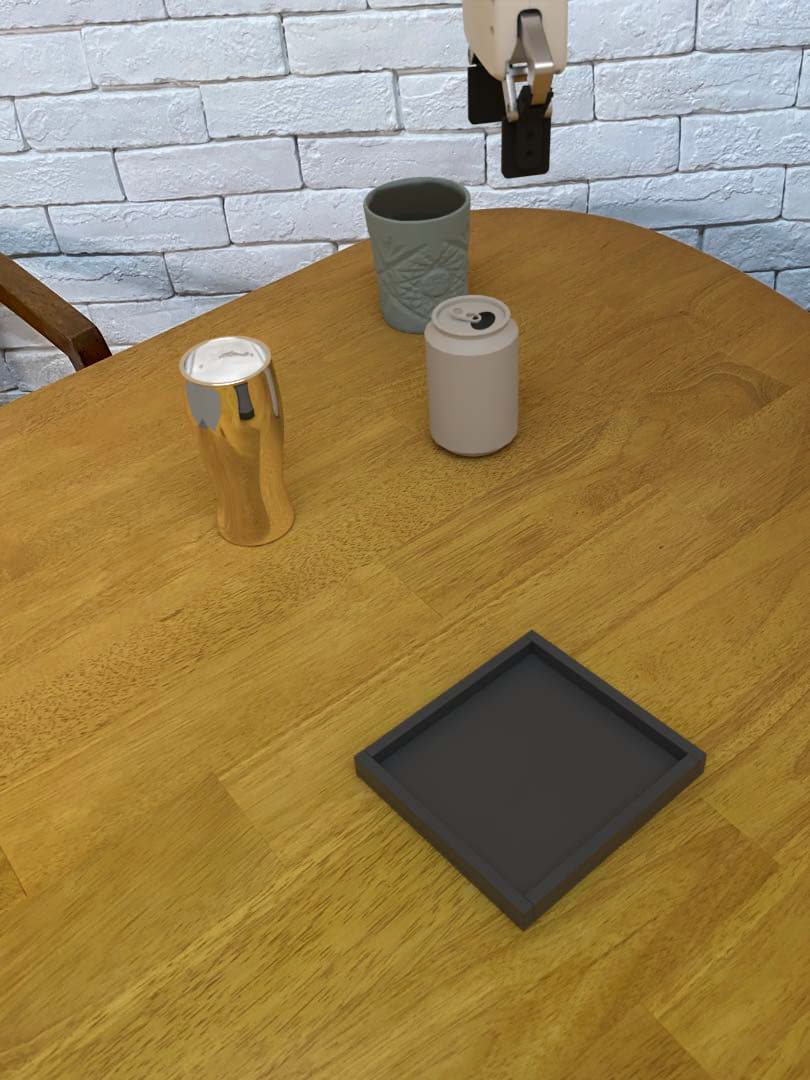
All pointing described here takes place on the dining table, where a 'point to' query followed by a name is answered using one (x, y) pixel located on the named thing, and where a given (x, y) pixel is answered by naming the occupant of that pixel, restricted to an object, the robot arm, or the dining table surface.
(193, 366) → the beer glass
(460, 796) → the tray
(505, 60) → the robot arm
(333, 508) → the dining table surface
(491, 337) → the can
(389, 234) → the embossed green cup
